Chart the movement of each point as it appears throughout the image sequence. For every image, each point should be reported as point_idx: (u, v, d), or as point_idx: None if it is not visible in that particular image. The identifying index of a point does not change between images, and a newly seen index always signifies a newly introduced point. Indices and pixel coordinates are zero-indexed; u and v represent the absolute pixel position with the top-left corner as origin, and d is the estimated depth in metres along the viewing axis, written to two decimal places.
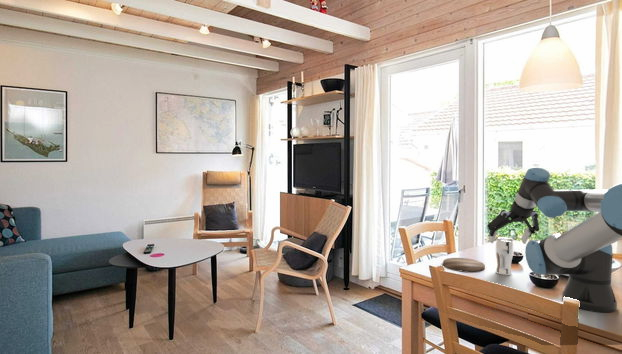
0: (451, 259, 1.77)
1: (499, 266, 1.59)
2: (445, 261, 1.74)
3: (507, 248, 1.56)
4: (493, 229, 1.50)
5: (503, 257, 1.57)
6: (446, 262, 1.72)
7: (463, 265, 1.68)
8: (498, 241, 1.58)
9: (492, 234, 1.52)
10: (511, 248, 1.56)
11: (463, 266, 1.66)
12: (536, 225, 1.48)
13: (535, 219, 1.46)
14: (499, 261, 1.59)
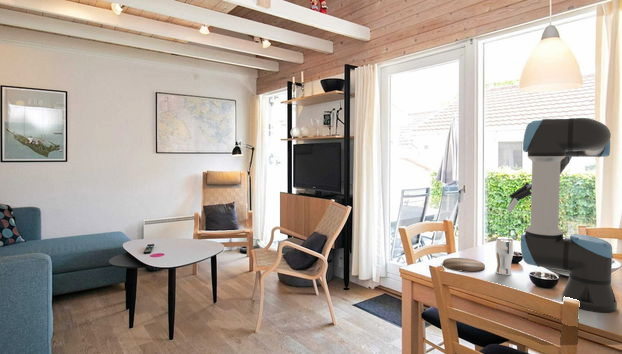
0: (451, 259, 1.77)
1: (499, 266, 1.59)
2: (445, 261, 1.74)
3: (507, 248, 1.56)
4: (513, 196, 1.71)
5: (503, 257, 1.57)
6: (446, 262, 1.72)
7: (463, 265, 1.68)
8: (498, 241, 1.58)
9: (511, 202, 1.70)
10: (511, 248, 1.56)
11: (463, 266, 1.66)
12: None
13: None
14: (499, 261, 1.59)
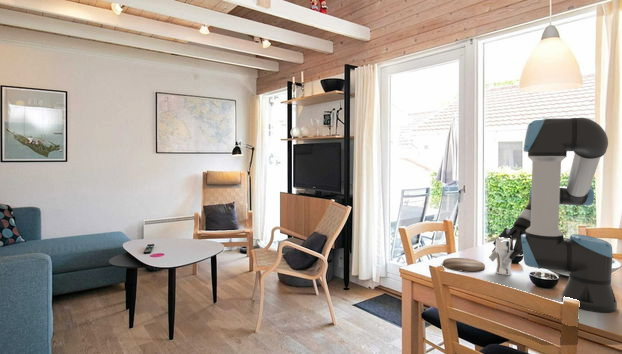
0: (451, 259, 1.77)
1: (499, 266, 1.59)
2: (445, 261, 1.74)
3: (507, 248, 1.56)
4: None
5: (503, 257, 1.57)
6: (446, 262, 1.72)
7: (463, 265, 1.68)
8: (498, 241, 1.58)
9: (494, 250, 1.63)
10: (511, 248, 1.56)
11: (463, 266, 1.66)
12: (522, 244, 1.55)
13: None
14: (499, 261, 1.59)
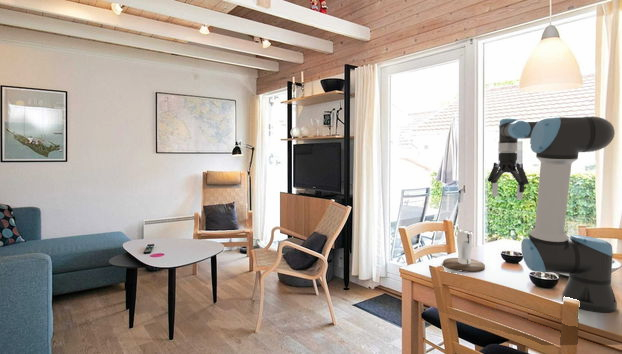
0: (451, 259, 1.77)
1: (460, 257, 1.69)
2: (445, 261, 1.74)
3: (467, 240, 1.67)
4: (491, 180, 1.77)
5: (463, 248, 1.68)
6: (446, 262, 1.72)
7: (463, 265, 1.68)
8: (459, 233, 1.69)
9: None
10: (470, 240, 1.67)
11: (463, 266, 1.66)
12: (520, 176, 1.62)
13: (517, 168, 1.63)
14: (460, 252, 1.69)
